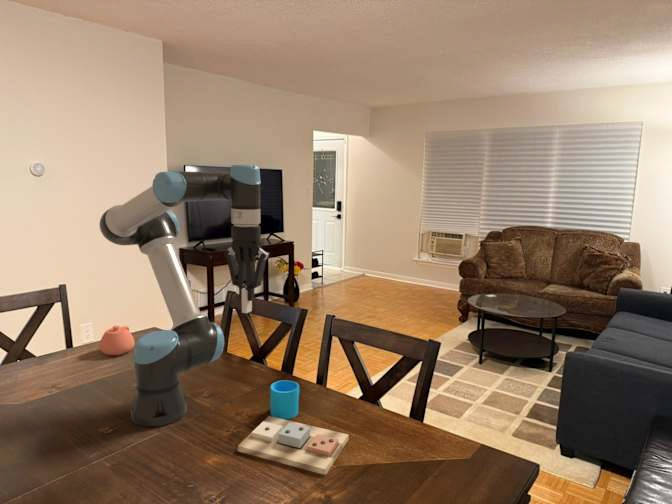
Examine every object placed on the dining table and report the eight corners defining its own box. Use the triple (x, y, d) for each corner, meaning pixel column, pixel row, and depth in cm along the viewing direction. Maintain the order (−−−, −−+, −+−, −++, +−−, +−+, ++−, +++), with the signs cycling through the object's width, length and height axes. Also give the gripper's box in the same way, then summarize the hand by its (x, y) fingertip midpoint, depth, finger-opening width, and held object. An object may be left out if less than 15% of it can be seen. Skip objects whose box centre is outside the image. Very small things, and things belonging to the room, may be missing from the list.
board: (237, 451, 119) (237, 445, 119) (269, 420, 134) (269, 415, 133) (325, 475, 110) (325, 469, 110) (348, 439, 125) (348, 434, 125)
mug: (288, 422, 133) (288, 395, 132) (264, 414, 137) (264, 388, 136) (310, 404, 144) (310, 379, 142) (288, 397, 147) (288, 373, 146)
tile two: (278, 442, 120) (278, 433, 120) (289, 431, 126) (289, 421, 125) (300, 448, 118) (300, 438, 117) (309, 436, 123) (310, 426, 123)
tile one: (251, 441, 123) (251, 431, 123) (263, 429, 129) (263, 420, 128) (271, 446, 121) (271, 436, 121) (282, 434, 127) (282, 425, 126)
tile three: (307, 455, 118) (307, 445, 117) (316, 442, 123) (317, 433, 123) (329, 461, 115) (329, 451, 115) (338, 448, 121) (338, 438, 120)
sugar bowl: (92, 356, 176) (90, 330, 174) (115, 343, 189) (114, 318, 188) (122, 359, 174) (120, 332, 172) (143, 345, 187) (142, 321, 186)
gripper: (216, 224, 122) (218, 312, 126) (260, 228, 117) (260, 318, 121) (232, 221, 129) (234, 305, 133) (274, 224, 124) (275, 311, 128)
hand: (246, 311), depth 127 cm, fingers closed
